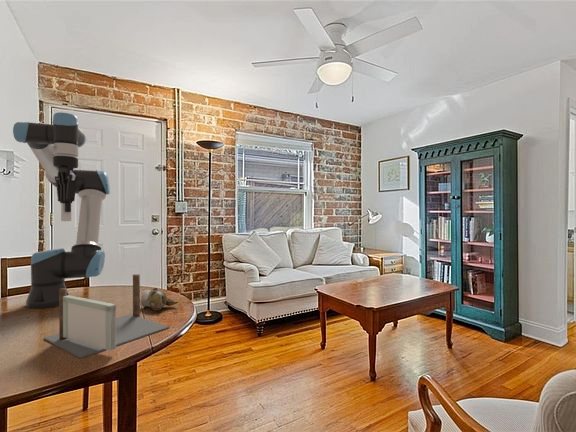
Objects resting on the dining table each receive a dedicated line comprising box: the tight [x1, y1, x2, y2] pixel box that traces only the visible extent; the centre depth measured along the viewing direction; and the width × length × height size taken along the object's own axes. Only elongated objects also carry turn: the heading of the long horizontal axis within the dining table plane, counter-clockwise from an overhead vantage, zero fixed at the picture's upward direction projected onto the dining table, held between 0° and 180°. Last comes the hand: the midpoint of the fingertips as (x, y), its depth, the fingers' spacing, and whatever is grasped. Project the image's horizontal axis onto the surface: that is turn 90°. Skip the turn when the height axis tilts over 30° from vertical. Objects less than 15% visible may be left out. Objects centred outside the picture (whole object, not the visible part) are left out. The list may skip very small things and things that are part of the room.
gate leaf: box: [63, 294, 117, 351], centre depth 95 cm, size 22×2×12 cm, turn 64°
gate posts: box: [58, 273, 141, 340], centre depth 112 cm, size 2×28×16 cm, turn 152°
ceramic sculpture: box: [140, 287, 179, 312], centre depth 134 cm, size 11×9×15 cm
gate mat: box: [43, 313, 170, 359], centre depth 106 cm, size 24×28×1 cm
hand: (66, 221), depth 119 cm, fingers closed
